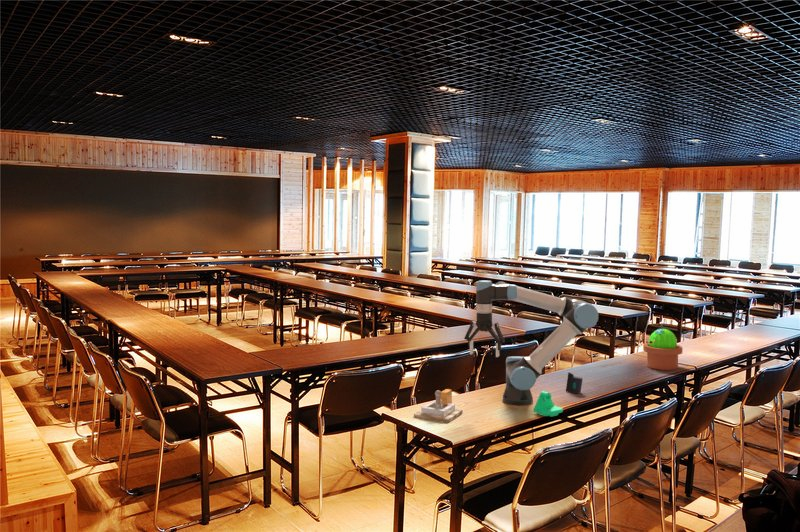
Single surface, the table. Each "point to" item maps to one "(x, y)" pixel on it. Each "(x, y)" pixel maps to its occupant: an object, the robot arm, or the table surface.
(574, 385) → the speaker
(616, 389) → the table surface
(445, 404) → the square frame with handle
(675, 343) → the potted cactus
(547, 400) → the camera mount
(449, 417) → the board
